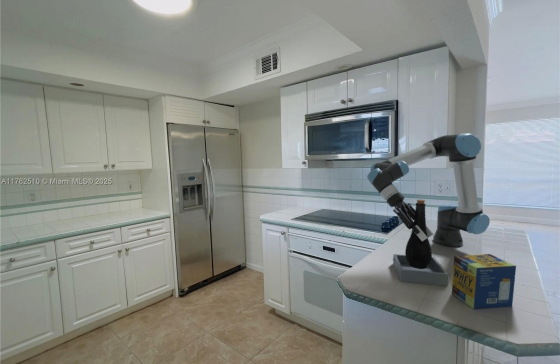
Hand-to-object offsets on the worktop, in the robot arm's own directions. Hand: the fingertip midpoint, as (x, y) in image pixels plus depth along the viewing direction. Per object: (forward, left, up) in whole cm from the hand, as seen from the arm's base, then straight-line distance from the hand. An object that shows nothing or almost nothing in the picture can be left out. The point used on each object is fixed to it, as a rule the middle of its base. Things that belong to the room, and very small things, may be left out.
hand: (428, 237), depth 112 cm
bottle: (+3, -2, -14) cm, 15 cm away
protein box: (-14, +15, -18) cm, 28 cm away
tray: (+3, -2, -18) cm, 18 cm away
